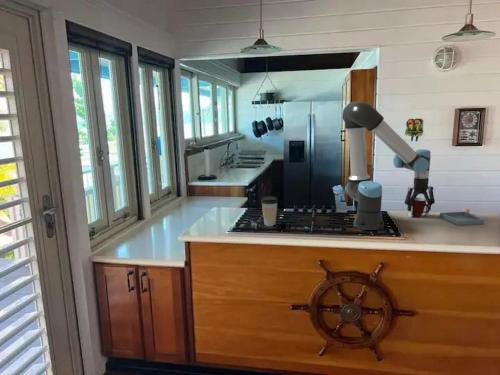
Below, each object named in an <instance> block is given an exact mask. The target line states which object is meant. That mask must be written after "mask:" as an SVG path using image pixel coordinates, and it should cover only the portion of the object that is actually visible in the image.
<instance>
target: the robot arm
mask: <svg viewBox="0 0 500 375" xmlns="http://www.w3.org/2000/svg"><path fill="white" fill-rule="evenodd" d="M341 118H342V121H343V122H344V129H345V130H346V131H347V133H348V145H349V146H348V147H349V148H348V149H349V163H350V165H349V166H350V175H349V176H348V178H347V179H348V182H347V185H346V194H348V196H349V197H350V198H351V199H352V200H354V201H356V202H357V213H356V214H355V218H354V220H353V227H354V228H355V227H356V229H357V228H358V229H357V230H360V229H362V230H361V231H365V230H378V229H382V228H383V227H384V226H385V223H384V219H383V216H382V200H383V199H382V197H383V187H382V185H381V184H380V183H379V182H376V181H373V180H371V176H370V175H369V173H368V164H367V145H366V130H367V131H368V132H372V133H373V134H374V135H375V136H376V137H378V138H379V140H380V141H381V142H383V143H384V144H385V145H386V146H387V147H388V149H390V150H391V151H392V153H394V154H395V155H394V157H393V162H392V163H393V165H394V168H396V169H408V170H410V171H414V174H413V186H408V187H407V194H406V196H405V199H404V205H407V211H408V215H407V216H408V217H410V218H412V217H413V215H412V210H413V206H412V203H413V202H414V200H415V198H416V197H417V196H419V195H423V197H424V199H426V204H428V205H429V206H430V211H431V209H432V206H433V204H435V195H434V187H433V186H431V185H430V186H429V180H430V179H429V177H430V169H431V168H430V166H431V154H432V153H431V150H429V149H416V150H414V149H413V148H412V147H411V146H410V145H409V144H408V143H407V141H405V140H404V139H403V137H401V136H400V135H399V133H397V132H396V131H395V130H394V129H393V128H392V127H391V126H390V125H389V124H388V123H387V122H386V121H385V120H384V119H385V117H384V116H383V115H382V114H381V113H380V112H379V111H378V110H377V109H376V108H375V107H374V106H372V105H371V104H370V103H368V102H366V101H353V102H350V103H347V104H346V105H345V106H344V107H343V108H342V111H341ZM425 211H428V207H427V206H425V209H424V212H425ZM430 211H429V212H427V213H424V216H427V217H430ZM384 228H385V227H384ZM384 228H383V229H384ZM383 229H382V230H383ZM378 231H379V230H378Z"/></svg>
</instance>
